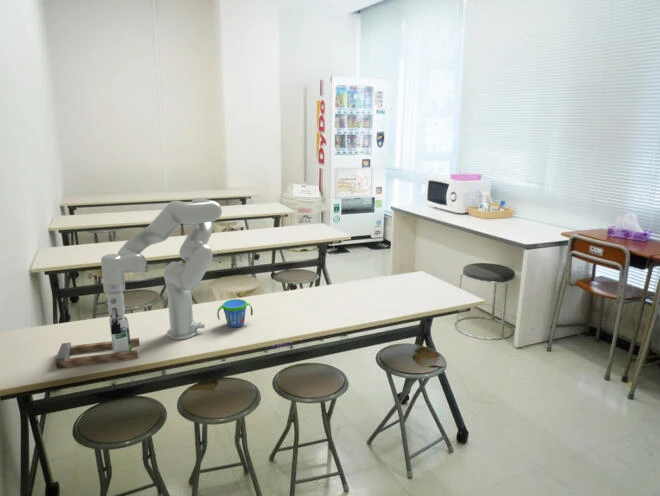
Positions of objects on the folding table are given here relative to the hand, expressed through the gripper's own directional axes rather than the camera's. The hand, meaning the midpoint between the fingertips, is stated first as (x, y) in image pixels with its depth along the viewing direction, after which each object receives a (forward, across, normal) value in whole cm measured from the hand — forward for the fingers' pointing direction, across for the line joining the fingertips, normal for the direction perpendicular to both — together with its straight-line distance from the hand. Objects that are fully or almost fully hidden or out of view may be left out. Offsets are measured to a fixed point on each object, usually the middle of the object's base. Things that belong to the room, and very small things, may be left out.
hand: (117, 328), depth 189 cm
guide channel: (+11, 0, +7) cm, 13 cm away
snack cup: (+9, +15, -47) cm, 50 cm away
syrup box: (+11, 0, -1) cm, 11 cm away
